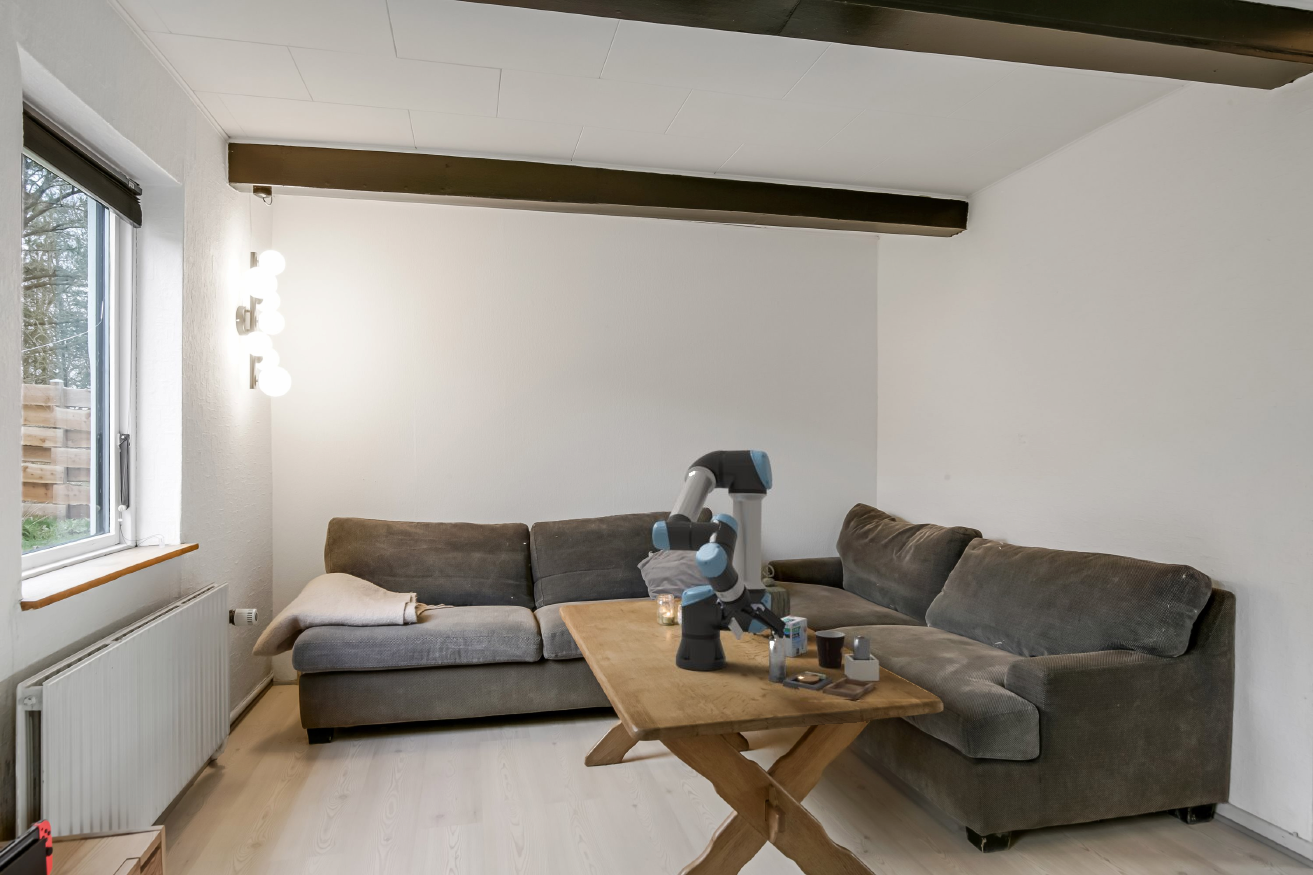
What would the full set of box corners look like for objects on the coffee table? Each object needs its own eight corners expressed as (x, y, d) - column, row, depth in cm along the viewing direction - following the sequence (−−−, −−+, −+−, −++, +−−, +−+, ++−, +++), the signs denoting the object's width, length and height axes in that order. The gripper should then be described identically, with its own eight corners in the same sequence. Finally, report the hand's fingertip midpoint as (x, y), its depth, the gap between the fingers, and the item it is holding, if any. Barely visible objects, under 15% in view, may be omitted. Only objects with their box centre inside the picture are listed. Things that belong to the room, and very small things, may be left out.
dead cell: (855, 678, 222) (855, 637, 222) (851, 674, 227) (851, 633, 227) (872, 678, 222) (872, 637, 222) (867, 674, 227) (867, 633, 227)
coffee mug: (825, 662, 242) (825, 629, 243) (850, 667, 236) (850, 633, 236) (803, 669, 234) (803, 635, 234) (828, 675, 228) (828, 640, 228)
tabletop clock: (747, 633, 280) (747, 562, 281) (768, 631, 284) (768, 561, 285) (769, 642, 267) (769, 568, 268) (792, 640, 271) (792, 566, 272)
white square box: (851, 682, 220) (851, 661, 221) (844, 675, 228) (844, 654, 228) (879, 682, 221) (878, 660, 221) (870, 674, 228) (870, 653, 228)
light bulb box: (792, 657, 248) (792, 623, 248) (773, 654, 252) (773, 620, 252) (807, 651, 256) (807, 617, 256) (789, 648, 260) (789, 615, 260)
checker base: (816, 692, 211) (816, 684, 211) (782, 685, 218) (782, 677, 218) (832, 684, 219) (832, 676, 219) (800, 677, 225) (800, 669, 225)
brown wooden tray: (854, 701, 204) (854, 694, 204) (822, 694, 209) (822, 688, 209) (875, 689, 214) (875, 683, 214) (843, 683, 220) (843, 677, 220)
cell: (770, 682, 221) (770, 640, 221) (767, 677, 225) (767, 636, 226) (787, 682, 221) (787, 640, 221) (783, 677, 226) (783, 636, 226)
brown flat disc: (812, 685, 214) (812, 679, 214) (792, 681, 218) (792, 675, 218) (822, 680, 219) (822, 674, 219) (803, 676, 223) (803, 671, 223)
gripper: (686, 597, 210) (717, 643, 222) (768, 608, 195) (797, 658, 206) (697, 575, 214) (728, 621, 226) (779, 584, 199) (807, 634, 210)
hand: (761, 639), depth 216 cm, fingers open, 13 cm apart
